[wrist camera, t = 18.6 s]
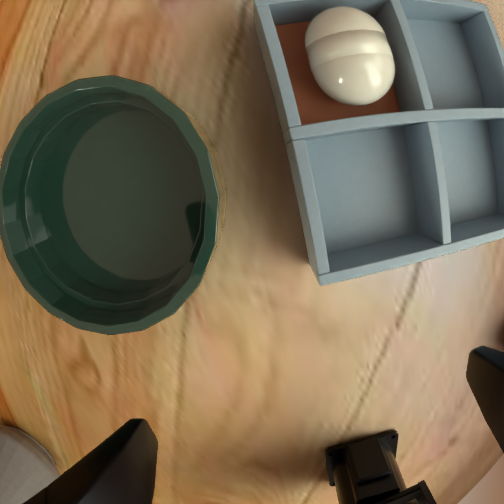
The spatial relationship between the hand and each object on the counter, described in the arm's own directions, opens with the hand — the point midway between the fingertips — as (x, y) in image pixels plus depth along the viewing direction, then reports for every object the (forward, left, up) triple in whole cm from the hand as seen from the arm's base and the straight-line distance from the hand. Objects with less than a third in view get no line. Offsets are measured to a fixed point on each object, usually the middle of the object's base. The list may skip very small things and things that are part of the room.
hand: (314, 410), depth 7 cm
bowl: (+6, +9, -12) cm, 16 cm away
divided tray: (+7, -9, -12) cm, 16 cm away
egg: (+11, -5, -11) cm, 16 cm away
